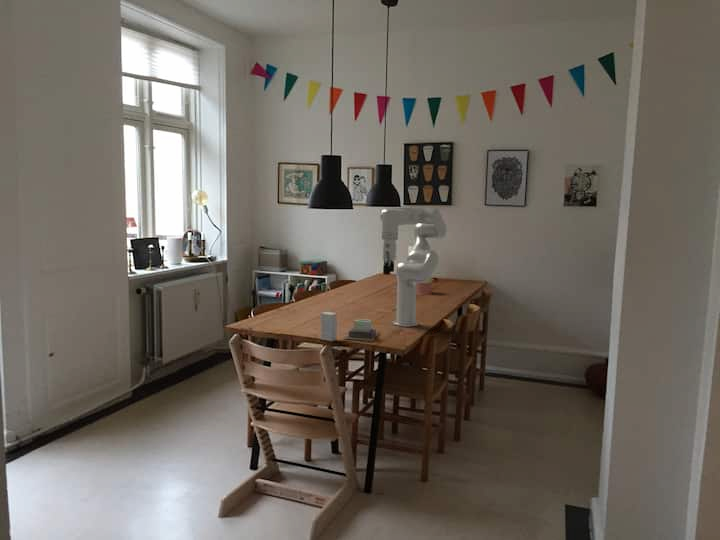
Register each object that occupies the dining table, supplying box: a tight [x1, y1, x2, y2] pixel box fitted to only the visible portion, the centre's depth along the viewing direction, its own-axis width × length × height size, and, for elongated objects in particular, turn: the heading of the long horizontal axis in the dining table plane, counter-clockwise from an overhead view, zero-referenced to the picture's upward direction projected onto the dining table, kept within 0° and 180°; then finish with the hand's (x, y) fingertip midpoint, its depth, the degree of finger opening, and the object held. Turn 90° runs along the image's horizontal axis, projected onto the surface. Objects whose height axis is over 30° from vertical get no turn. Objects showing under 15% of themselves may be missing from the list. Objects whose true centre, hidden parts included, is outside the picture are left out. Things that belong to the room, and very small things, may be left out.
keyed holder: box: [343, 326, 381, 343], centre depth 261 cm, size 16×13×3 cm
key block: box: [353, 318, 372, 332], centre depth 260 cm, size 7×4×7 cm, turn 78°
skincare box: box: [320, 311, 338, 342], centre depth 253 cm, size 6×4×12 cm
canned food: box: [414, 275, 433, 295], centre depth 381 cm, size 11×11×12 cm
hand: (388, 273), depth 267 cm, fingers open, 9 cm apart
